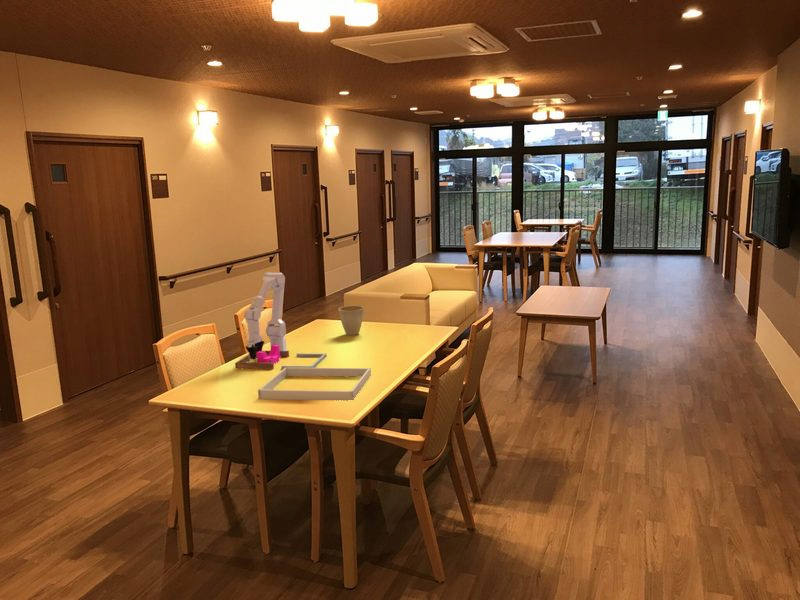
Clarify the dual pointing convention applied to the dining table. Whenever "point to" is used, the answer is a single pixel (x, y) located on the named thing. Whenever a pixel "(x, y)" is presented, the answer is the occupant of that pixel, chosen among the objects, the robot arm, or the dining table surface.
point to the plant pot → (351, 319)
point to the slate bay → (308, 356)
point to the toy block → (272, 356)
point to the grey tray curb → (268, 393)
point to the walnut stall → (244, 365)
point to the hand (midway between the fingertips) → (256, 357)
